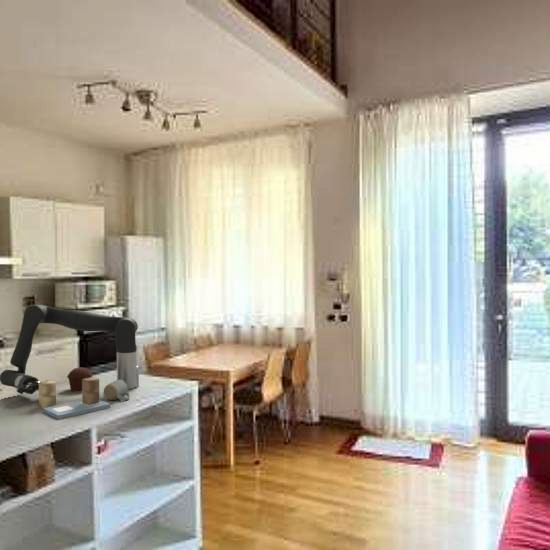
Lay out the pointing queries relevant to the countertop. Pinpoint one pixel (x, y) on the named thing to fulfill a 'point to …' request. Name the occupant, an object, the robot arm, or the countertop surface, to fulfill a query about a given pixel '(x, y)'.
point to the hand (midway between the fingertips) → (42, 389)
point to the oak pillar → (47, 394)
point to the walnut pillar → (90, 391)
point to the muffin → (78, 378)
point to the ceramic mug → (116, 390)
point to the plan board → (74, 409)
